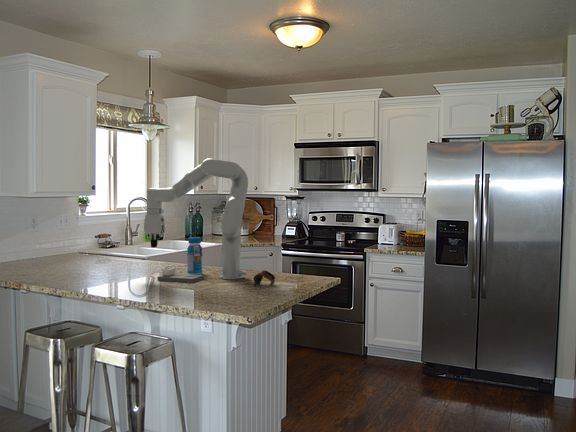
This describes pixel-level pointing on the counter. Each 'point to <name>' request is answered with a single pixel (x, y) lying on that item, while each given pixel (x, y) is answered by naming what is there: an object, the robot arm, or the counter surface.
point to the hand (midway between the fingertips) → (154, 247)
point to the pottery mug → (266, 275)
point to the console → (181, 278)
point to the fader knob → (168, 271)
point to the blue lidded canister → (194, 256)
